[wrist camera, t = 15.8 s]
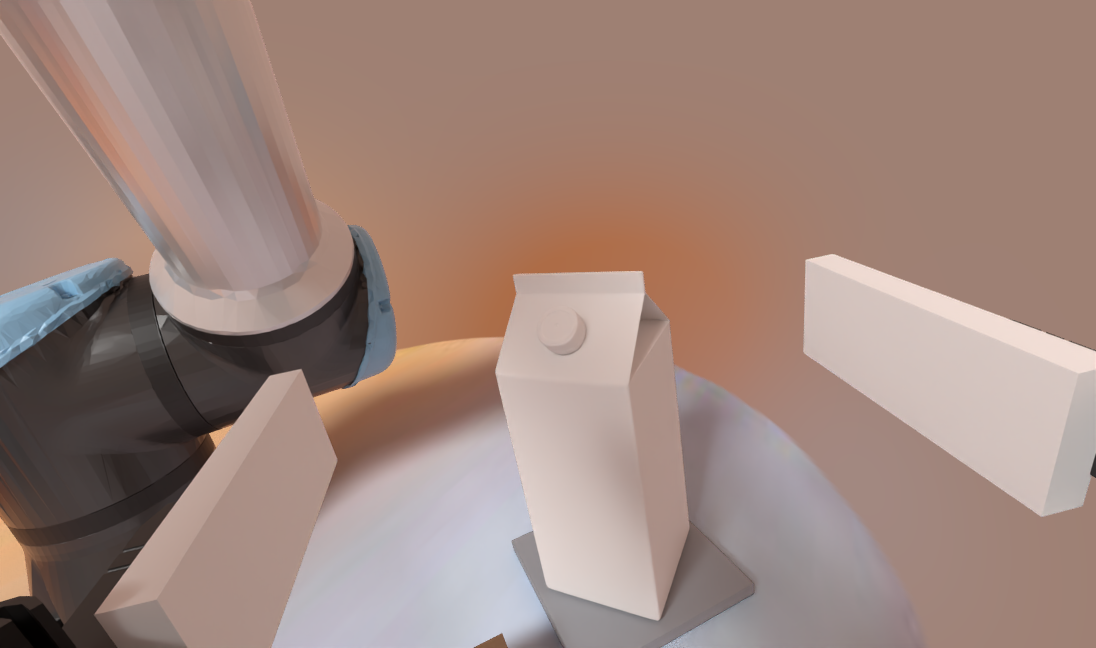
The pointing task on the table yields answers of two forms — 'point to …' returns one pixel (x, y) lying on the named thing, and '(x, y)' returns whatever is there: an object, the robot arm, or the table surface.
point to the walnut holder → (494, 643)
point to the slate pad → (631, 640)
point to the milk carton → (597, 435)
